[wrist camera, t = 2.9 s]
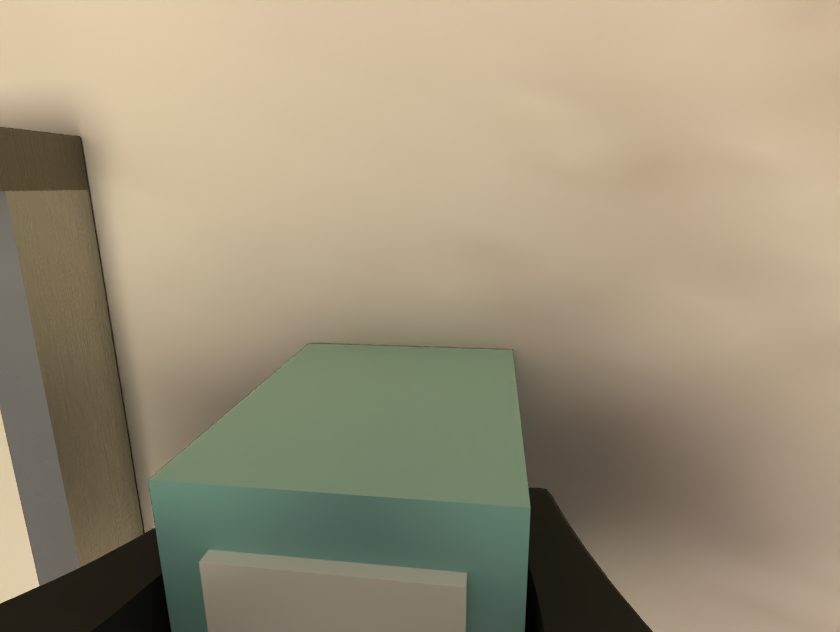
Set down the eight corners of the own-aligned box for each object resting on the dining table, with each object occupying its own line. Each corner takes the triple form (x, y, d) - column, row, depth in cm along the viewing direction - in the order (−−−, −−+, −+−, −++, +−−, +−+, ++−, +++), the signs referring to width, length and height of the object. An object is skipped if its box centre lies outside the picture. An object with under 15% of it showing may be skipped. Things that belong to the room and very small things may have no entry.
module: (503, 613, 11) (510, 956, 6) (325, 596, 12) (200, 897, 7) (512, 349, 10) (532, 520, 5) (309, 343, 10) (135, 490, 5)
